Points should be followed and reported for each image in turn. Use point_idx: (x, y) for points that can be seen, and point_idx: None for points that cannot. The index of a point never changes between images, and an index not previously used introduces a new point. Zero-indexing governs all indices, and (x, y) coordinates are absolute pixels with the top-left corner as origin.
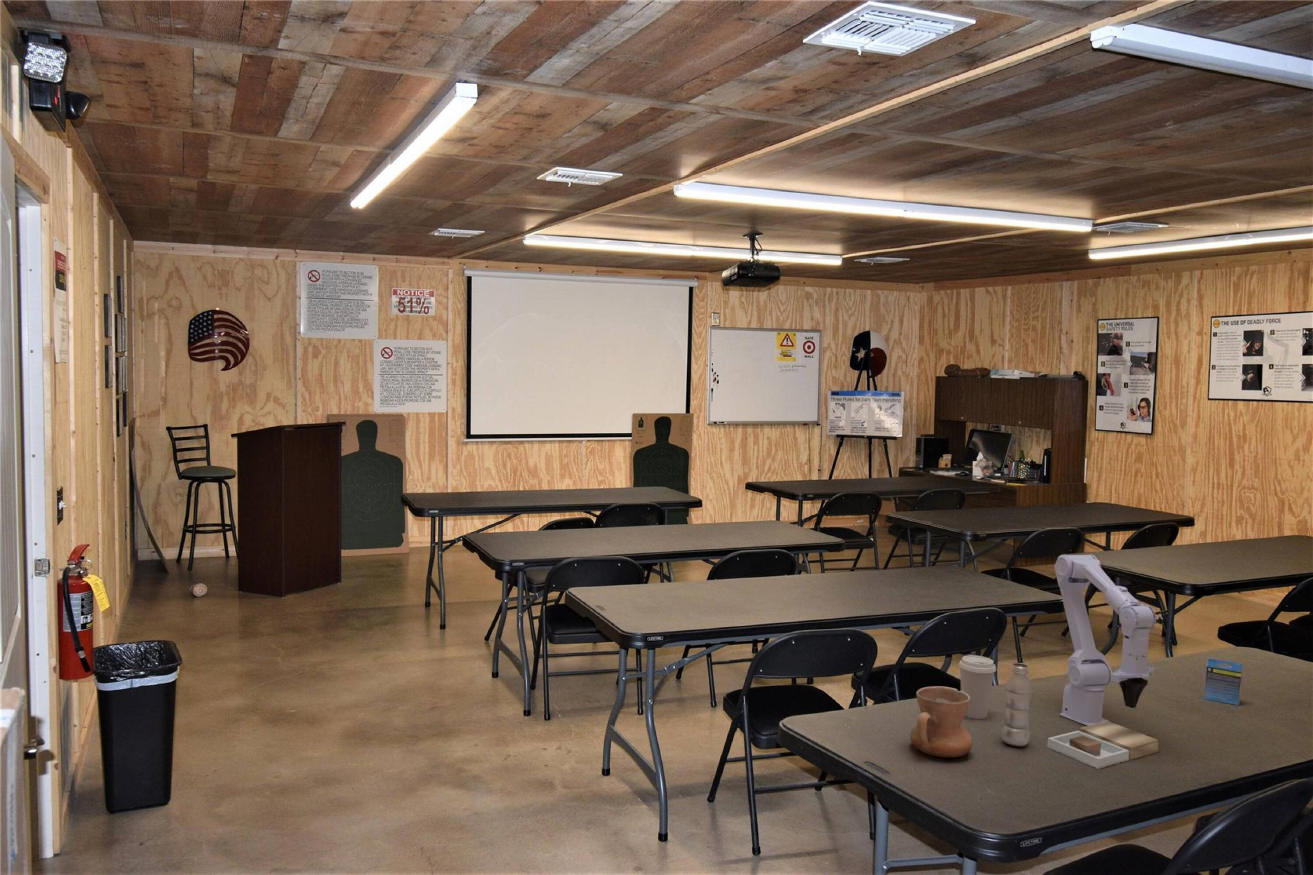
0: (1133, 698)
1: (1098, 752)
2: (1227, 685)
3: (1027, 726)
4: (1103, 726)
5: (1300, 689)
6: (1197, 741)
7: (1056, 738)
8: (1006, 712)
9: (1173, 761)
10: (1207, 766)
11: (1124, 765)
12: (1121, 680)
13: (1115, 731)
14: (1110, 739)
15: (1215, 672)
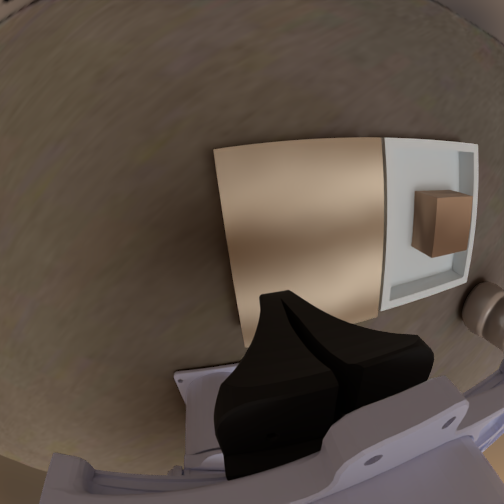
0: (322, 311)
1: (425, 192)
2: None
3: (501, 301)
4: None
5: None
6: (21, 195)
7: (453, 279)
8: None
9: (234, 73)
10: (160, 21)
11: (402, 121)
12: (477, 386)
13: (304, 268)
14: (382, 217)
15: None
